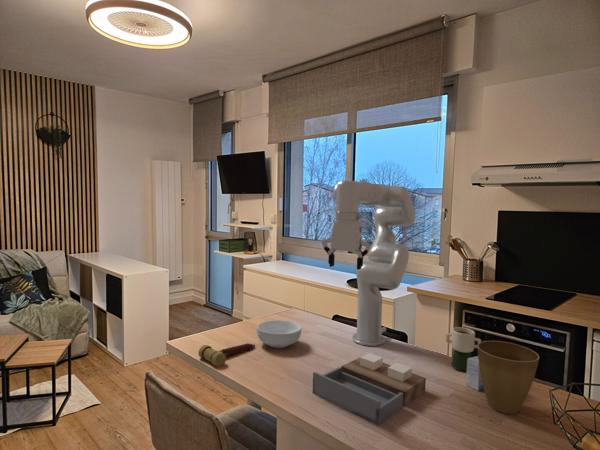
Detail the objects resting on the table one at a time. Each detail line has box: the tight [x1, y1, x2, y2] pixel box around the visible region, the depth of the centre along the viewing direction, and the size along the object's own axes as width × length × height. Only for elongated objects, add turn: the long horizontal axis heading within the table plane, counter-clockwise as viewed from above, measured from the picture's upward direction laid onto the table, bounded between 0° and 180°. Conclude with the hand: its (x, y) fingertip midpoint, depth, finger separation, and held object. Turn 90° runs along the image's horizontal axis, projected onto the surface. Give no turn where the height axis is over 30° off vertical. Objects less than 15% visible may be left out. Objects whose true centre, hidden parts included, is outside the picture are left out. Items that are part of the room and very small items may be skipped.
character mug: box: [445, 326, 482, 371], centre depth 130 cm, size 11×7×13 cm, turn 60°
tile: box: [388, 362, 413, 381], centre depth 115 cm, size 5×5×2 cm
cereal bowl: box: [256, 319, 302, 349], centre depth 148 cm, size 17×17×7 cm
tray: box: [312, 366, 404, 426], centre depth 108 cm, size 12×22×6 cm, turn 46°
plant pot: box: [476, 340, 540, 415], centre depth 106 cm, size 15×15×16 cm
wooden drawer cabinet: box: [340, 357, 427, 407], centre depth 117 cm, size 12×22×4 cm, turn 46°
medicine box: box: [465, 355, 484, 392], centre depth 118 cm, size 8×4×9 cm, turn 117°
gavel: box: [198, 343, 256, 368], centre depth 137 cm, size 21×5×10 cm
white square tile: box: [359, 352, 384, 370], centre depth 122 cm, size 5×5×2 cm
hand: (345, 267), depth 132 cm, fingers open, 9 cm apart
